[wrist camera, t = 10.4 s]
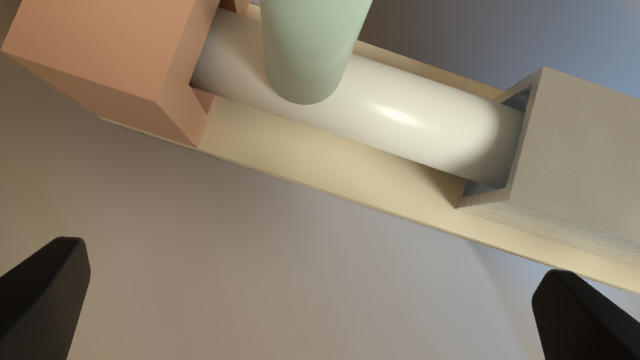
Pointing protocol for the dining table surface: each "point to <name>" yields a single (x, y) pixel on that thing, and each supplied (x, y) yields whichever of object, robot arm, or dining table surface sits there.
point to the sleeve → (569, 167)
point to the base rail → (383, 173)
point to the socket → (122, 58)
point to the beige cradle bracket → (352, 88)
